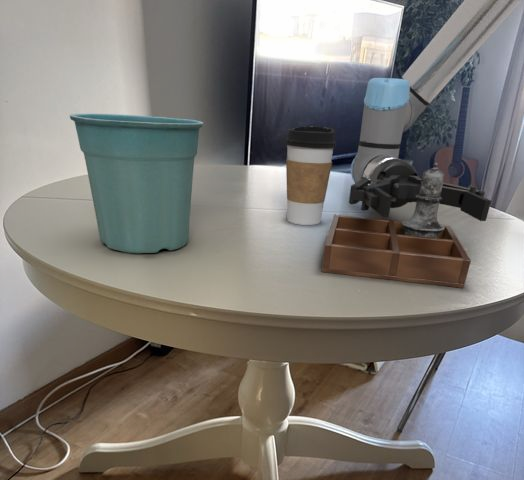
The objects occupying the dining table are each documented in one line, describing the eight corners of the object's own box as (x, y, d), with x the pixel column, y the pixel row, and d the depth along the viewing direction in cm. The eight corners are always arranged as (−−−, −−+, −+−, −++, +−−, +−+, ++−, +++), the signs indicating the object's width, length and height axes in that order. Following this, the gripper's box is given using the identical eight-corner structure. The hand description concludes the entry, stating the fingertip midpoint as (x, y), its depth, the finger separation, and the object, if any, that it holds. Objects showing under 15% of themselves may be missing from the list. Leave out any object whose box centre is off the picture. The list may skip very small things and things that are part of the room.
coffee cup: (333, 219, 86) (344, 128, 79) (318, 229, 80) (329, 131, 72) (290, 213, 89) (297, 124, 82) (272, 222, 83) (278, 126, 75)
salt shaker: (400, 241, 73) (416, 157, 67) (440, 247, 71) (459, 161, 66) (394, 251, 68) (411, 162, 62) (437, 257, 66) (458, 166, 61)
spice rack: (445, 248, 73) (450, 225, 72) (463, 288, 58) (471, 260, 57) (331, 236, 76) (334, 214, 74) (321, 271, 61) (324, 245, 59)
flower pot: (155, 222, 79) (149, 113, 71) (227, 244, 70) (229, 122, 62) (62, 239, 67) (43, 112, 60) (133, 268, 58) (121, 123, 51)
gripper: (454, 206, 85) (517, 239, 67) (316, 201, 83) (341, 233, 65) (465, 161, 82) (534, 183, 63) (321, 155, 80) (349, 175, 61)
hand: (437, 209), depth 64 cm, fingers open, 13 cm apart
